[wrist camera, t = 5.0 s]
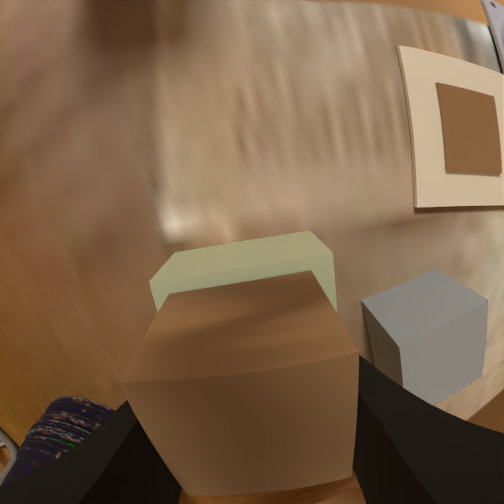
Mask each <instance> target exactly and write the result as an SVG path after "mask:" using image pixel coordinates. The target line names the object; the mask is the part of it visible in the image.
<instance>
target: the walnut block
mask: <svg viewBox="0 0 504 504" xmlns="http://www.w3.org/2000/svg"><path fill="white" fill-rule="evenodd" d="M358 380H359V350H358V349H357V347H356V345H355V343H354V342H353V340H352V338H351V336H350V335H349V333H348V331H347V330H346V328H345V326H344V324H343V323H342V321H341V319H340V318H339V316H338V314H337V312H336V311H335V309H334V307H333V306H332V304H331V302H330V301H329V299H328V297H327V296H326V294H325V292H324V291H323V289H322V287H321V286H320V284H319V282H318V281H317V279H316V277H315V276H314V274H313V272H312V271H311V270H308V271H303V272H297V273H291V274H286V275H280V276H275V277H269V278H263V279H257V280H251V281H245V282H240V283H234V284H227V285H221V286H215V287H209V288H203V289H196V290H190V291H184V292H177V293H170V294H169V295H168V296H167V298H166V300H165V301H164V303H163V305H162V306H161V308H160V310H159V311H158V313H157V315H156V317H155V318H154V320H153V322H152V323H151V325H150V327H149V329H148V330H147V332H146V334H145V336H144V337H143V339H142V341H141V343H140V344H139V346H138V348H137V350H136V352H135V353H134V355H133V357H132V359H131V360H130V362H129V364H128V366H127V368H126V370H125V371H124V373H123V375H122V377H121V379H120V381H119V382H118V383H119V385H120V387H121V389H122V391H123V393H124V395H125V396H126V398H127V400H128V402H129V404H130V406H131V408H132V410H133V411H134V413H135V415H136V417H137V419H138V420H139V422H140V424H141V426H142V427H143V429H144V431H145V432H146V434H147V436H148V437H149V439H150V441H151V442H152V444H153V446H154V447H155V449H156V450H157V452H158V453H159V455H160V456H161V458H162V460H163V461H164V463H165V464H166V466H167V467H168V468H169V470H170V471H171V473H172V474H173V476H174V477H175V479H176V480H177V481H178V483H179V484H180V485H181V487H182V488H183V490H184V491H185V492H186V494H187V495H188V496H224V495H244V494H257V493H267V492H276V491H283V490H290V489H297V488H303V487H309V486H314V485H319V484H324V483H329V482H333V481H337V480H342V479H346V478H350V477H351V476H352V467H353V458H354V448H355V436H356V423H357V406H358Z"/></svg>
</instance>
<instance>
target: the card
mask: <svg viewBox="0 0 504 504" xmlns="http://www.w3.org/2000/svg"><path fill="white" fill-rule="evenodd" d="M396 49H397V53H398V58H399V63H400V68H401V73H402V79H403V84H404V90H405V97H406V104H407V111H408V119H409V128H410V138H411V150H412V164H413V186H414V207H417V208H419V207H446V206H486V205H504V75H503V74H501V73H498V72H496V71H493V70H490V69H487V68H484V67H482V66H479V65H476V64H473V63H469V62H466V61H463V60H460V59H456V58H453V57H449V56H445V55H441V54H437V53H433V52H429V51H425V50H420V49H415V48H410V47H405V46H400V45H399V46H397V47H396Z"/></svg>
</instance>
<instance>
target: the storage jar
mask: <svg viewBox="0 0 504 504" xmlns="http://www.w3.org/2000/svg"><path fill="white" fill-rule="evenodd" d="M114 412H115V411H114V410H112V409H110V408H108V407H106V406H104V405H102V404H99V403H97V402H94V401H91V400H87V399H84V398H78V397H60V398H58V399H55V400H54V401H53V402H51V404H50V405H49V406H48V408H47V409H46V412H45V414H44V415H42V416H41V418H40V419H39V421H37V422H36V423H34V425H33V426H32V427H31V429H30V430H29V432H28V433H27V435H26V438H25V440H24V442H23V443H22V445H21V446H20V448H19V449H18V451H17V453H16V458H17V459H16V461H15V463H14V464H13V466H12V467H11V469H10V471H9V472H8V474H7V475H6V477H5V479H4V480H3V482H2V484H1V485H0V486H2V485H5V484H8V483H10V482H13V481H15V480H17V479H20V478H22V477H24V476H26V475H28V474H30V473H32V472H34V471H36V470H38V469H40V468H41V467H43V466H45V465H47V464H49V463H50V462H52V461H54V460H55V459H57V458H58V457H60V456H61V455H63V454H64V453H66V452H67V451H69V450H70V449H71V448H73V447H74V446H76V445H77V444H78V443H79V442H81V441H82V440H83V439H84V438H85V437H87V436H88V435H89V434H90V433H91V432H93V431H94V430H95V429H96V428H97V427H98V426H100V425H101V424H102V423H103V422H104V421H105V420H106V419H108V418H109V417H110V416H111V415H112V414H113V413H114Z"/></svg>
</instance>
